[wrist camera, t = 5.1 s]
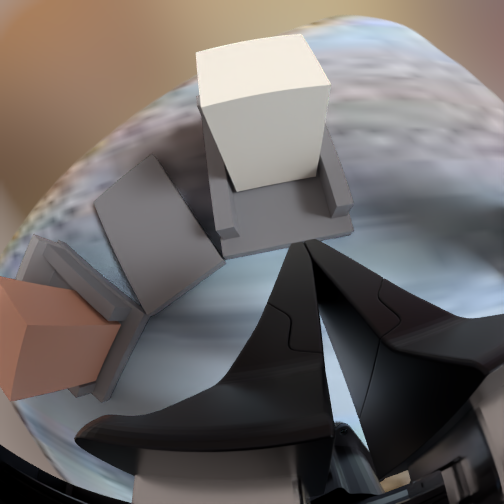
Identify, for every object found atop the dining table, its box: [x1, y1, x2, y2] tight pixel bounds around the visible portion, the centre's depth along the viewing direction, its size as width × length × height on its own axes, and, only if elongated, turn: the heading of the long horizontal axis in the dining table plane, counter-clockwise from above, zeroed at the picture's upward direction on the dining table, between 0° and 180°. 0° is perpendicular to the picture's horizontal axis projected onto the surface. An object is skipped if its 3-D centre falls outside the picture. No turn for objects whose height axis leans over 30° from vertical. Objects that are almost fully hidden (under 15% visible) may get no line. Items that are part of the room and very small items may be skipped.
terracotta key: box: [0, 276, 121, 401], centre depth 12 cm, size 4×5×8 cm
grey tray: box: [15, 95, 354, 403], centre depth 16 cm, size 13×30×4 cm, turn 125°
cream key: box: [196, 34, 331, 192], centre depth 13 cm, size 4×5×8 cm
